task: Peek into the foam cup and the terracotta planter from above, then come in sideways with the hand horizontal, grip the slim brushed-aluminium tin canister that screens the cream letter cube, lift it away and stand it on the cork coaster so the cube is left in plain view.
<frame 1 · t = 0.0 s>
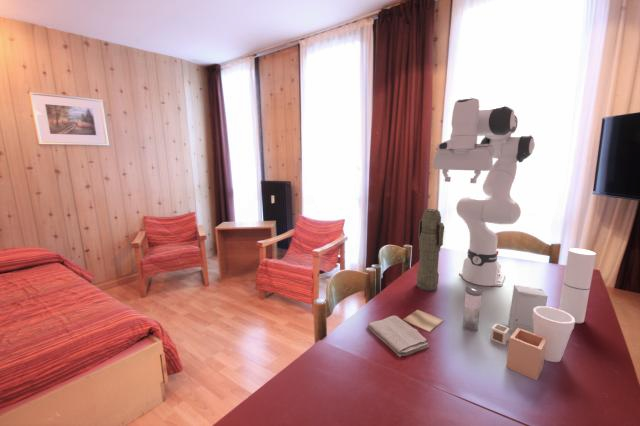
hand: (459, 182, 110), 48 cm above the table, tool pointing down, fingers open, 8 cm apart
cork coaster: (423, 320, 105), on the table
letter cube: (499, 339, 94), on the table
skincare box: (523, 331, 98), on the table
tin canister: (470, 327, 101), on the table
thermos: (427, 287, 132), on the table
cylindrical container: (570, 318, 106), on the table
foam cup: (547, 355, 87), on the table
terracotta planter: (524, 367, 82), on the table
washcloth: (396, 338, 96), on the table
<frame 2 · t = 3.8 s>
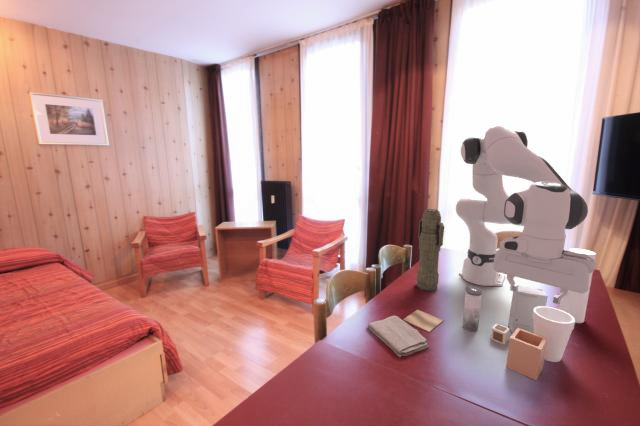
hand: (534, 296, 78), 21 cm above the table, tool pointing down, fingers open, 8 cm apart
nothing on the table moved.
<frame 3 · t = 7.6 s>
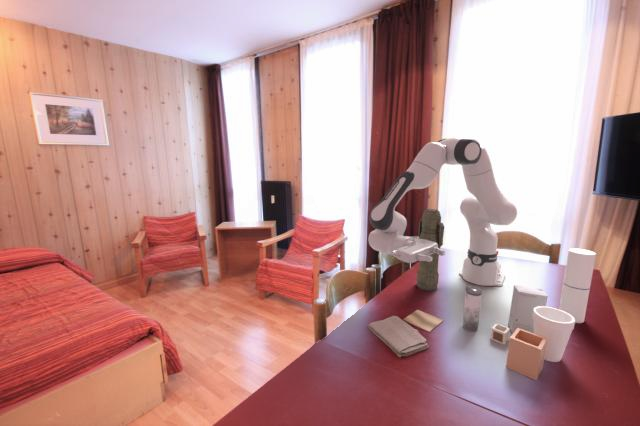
hand: (437, 256, 106), 22 cm above the table, tool horizontal, fingers open, 8 cm apart
nothing on the table moved.
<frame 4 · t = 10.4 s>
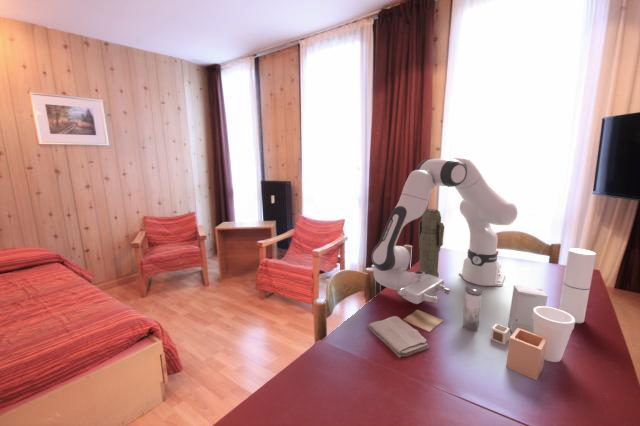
hand: (444, 296, 106), 8 cm above the table, tool horizontal, fingers open, 8 cm apart
nothing on the table moved.
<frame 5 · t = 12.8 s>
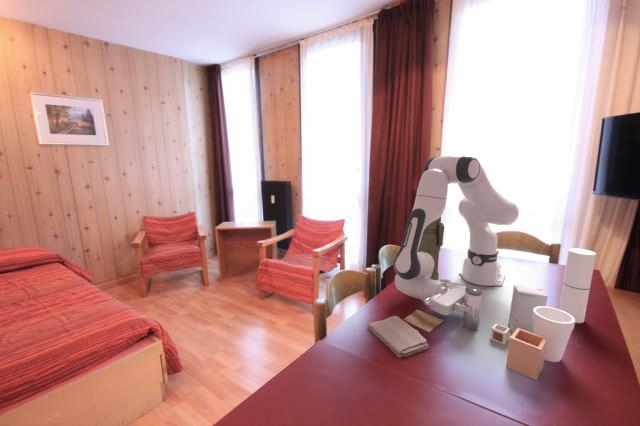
hand: (475, 306, 98), 8 cm above the table, tool horizontal, fingers closed on tin canister, 5 cm apart
tin canister: (470, 327, 101), on the table, touching gripper
everything else where it was.
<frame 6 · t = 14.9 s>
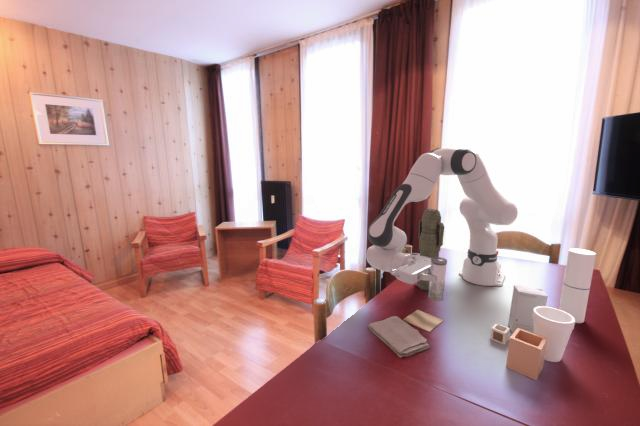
hand: (440, 276, 99), 18 cm above the table, tool horizontal, fingers closed on tin canister, 5 cm apart
tin canister: (435, 297, 102), point 9 cm above the table, touching gripper
everything else where it was.
when the fingers open (9 cm above the table, at t = 17.0 s): tin canister stays where it is, resting on cork coaster.
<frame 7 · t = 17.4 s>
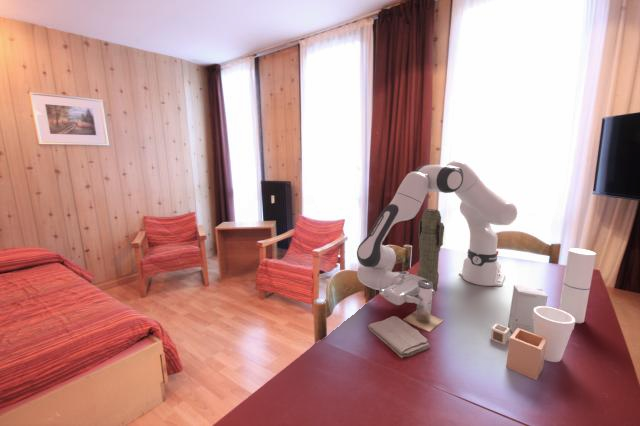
hand: (427, 297, 102), 9 cm above the table, tool horizontal, fingers open, 8 cm apart
tin canister: (423, 319, 105), resting on cork coaster
everything else where it was.
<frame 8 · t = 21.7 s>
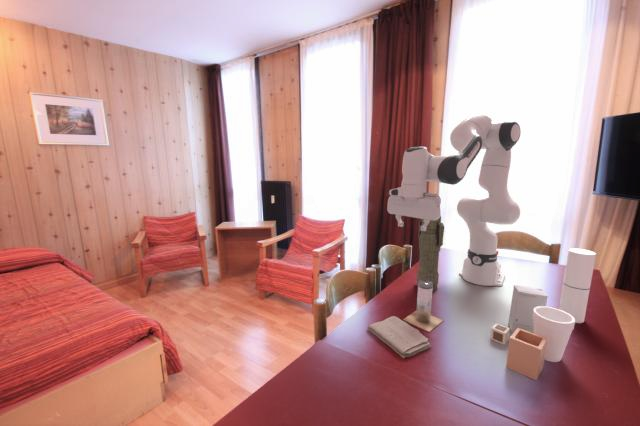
hand: (411, 228, 110), 31 cm above the table, tool pointing down, fingers open, 8 cm apart
nothing on the table moved.
at the end: tin canister inside the target area on the cork coaster (0.0 cm from its centre), point 0.4 cm above the cork coaster's base; tin canister tilted 1°; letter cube moved 0.1 cm from its start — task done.
